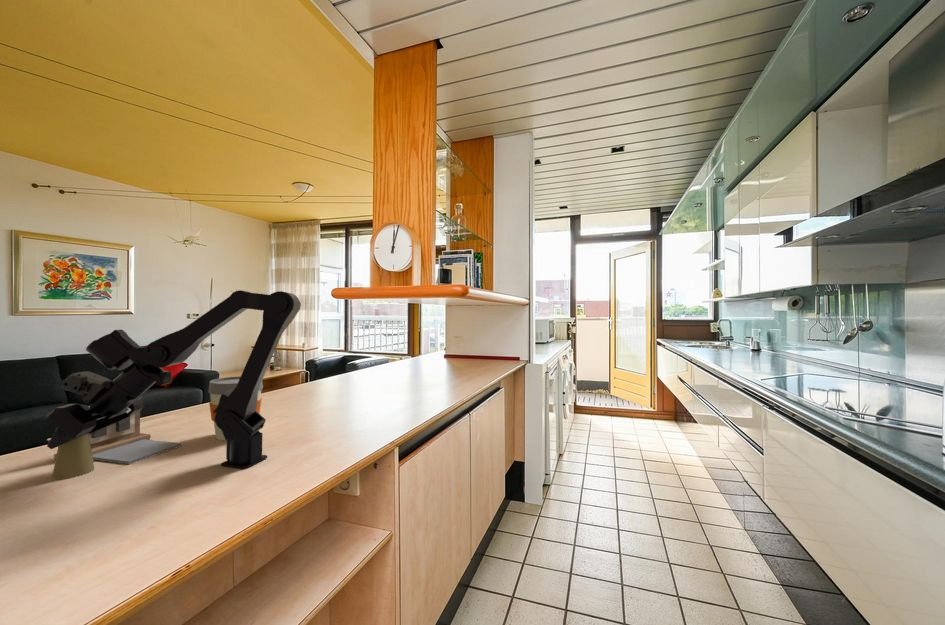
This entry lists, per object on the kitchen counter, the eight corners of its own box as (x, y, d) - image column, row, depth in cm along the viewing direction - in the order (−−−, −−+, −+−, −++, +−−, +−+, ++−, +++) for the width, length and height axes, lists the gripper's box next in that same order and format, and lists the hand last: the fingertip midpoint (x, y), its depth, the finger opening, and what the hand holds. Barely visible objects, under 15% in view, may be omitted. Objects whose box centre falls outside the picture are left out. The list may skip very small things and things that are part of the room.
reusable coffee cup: (272, 431, 106) (273, 378, 106) (227, 446, 94) (228, 385, 94) (242, 425, 111) (243, 374, 111) (196, 438, 99) (197, 381, 99)
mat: (182, 445, 94) (182, 443, 94) (129, 464, 82) (129, 461, 82) (143, 441, 96) (143, 439, 96) (87, 459, 85) (87, 456, 85)
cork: (72, 479, 74) (73, 423, 74) (42, 478, 75) (43, 423, 75) (103, 467, 80) (103, 415, 81) (75, 466, 81) (76, 414, 81)
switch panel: (150, 438, 98) (151, 400, 98) (74, 462, 83) (75, 416, 83) (132, 437, 100) (133, 399, 100) (53, 459, 84) (54, 414, 84)
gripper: (129, 353, 88) (71, 403, 85) (59, 364, 69) (-17, 427, 67) (167, 386, 89) (111, 436, 87) (109, 406, 71) (36, 469, 69)
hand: (66, 440), depth 77 cm, fingers open, 7 cm apart
